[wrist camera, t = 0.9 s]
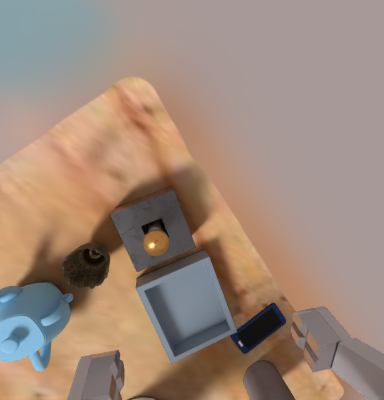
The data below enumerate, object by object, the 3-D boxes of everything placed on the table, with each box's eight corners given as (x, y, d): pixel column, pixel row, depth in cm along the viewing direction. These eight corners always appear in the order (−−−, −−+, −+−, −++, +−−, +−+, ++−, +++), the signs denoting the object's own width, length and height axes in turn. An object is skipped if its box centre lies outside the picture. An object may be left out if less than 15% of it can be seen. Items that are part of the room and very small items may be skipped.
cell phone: (229, 334, 55) (230, 336, 54) (273, 300, 56) (274, 302, 55) (243, 352, 57) (244, 355, 56) (285, 320, 58) (287, 322, 57)
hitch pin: (166, 227, 47) (172, 249, 35) (149, 235, 47) (149, 259, 35) (159, 210, 46) (163, 227, 34) (141, 218, 46) (139, 237, 34)
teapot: (60, 335, 47) (38, 387, 36) (-16, 319, 43) (-66, 373, 32) (84, 284, 46) (69, 321, 36) (9, 262, 42) (-34, 297, 32)
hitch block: (190, 237, 48) (196, 247, 43) (138, 258, 47) (136, 272, 41) (170, 186, 46) (174, 189, 40) (115, 207, 44) (110, 214, 39)
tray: (230, 319, 54) (237, 331, 50) (169, 348, 52) (171, 363, 48) (204, 249, 50) (209, 256, 46) (136, 278, 48) (135, 288, 44)
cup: (116, 234, 45) (109, 249, 38) (114, 268, 46) (107, 289, 39) (76, 233, 44) (61, 248, 36) (76, 268, 45) (61, 290, 37)
